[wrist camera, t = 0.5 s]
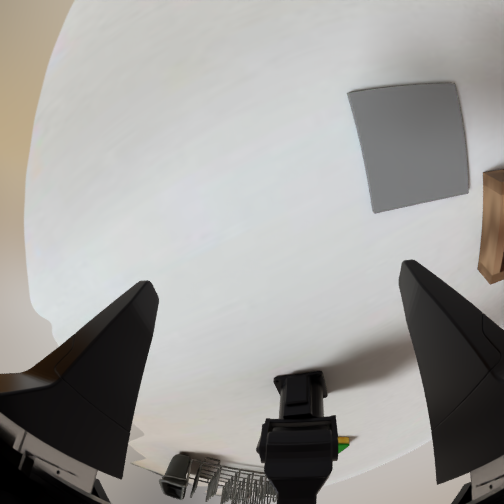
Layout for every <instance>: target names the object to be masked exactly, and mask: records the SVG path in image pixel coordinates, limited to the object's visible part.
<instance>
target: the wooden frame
mask: <svg viewBox="0 0 504 504" xmlns="http://www.w3.org/2000/svg"><path fill="white" fill-rule="evenodd" d="M503 251H504V169H502V170H496V171H490V172H484V173H483V221H482V235H481V246H480V255H479V262H478V270H479V272H480V273H481V274H482V275H483V276H484V278H485V279H486V280H487V281H488V283H489V284H490V285H491V284H493V283H496V282H498V281H501V280H503V279H504V252H503Z"/></svg>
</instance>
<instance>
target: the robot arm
mask: <svg viewBox="0 0 504 504" xmlns="http://www.w3.org/2000/svg"><path fill="white" fill-rule="evenodd" d="M399 288H400V292H401V297H402V302H403V306H404V311H405V317H406V321H407V325H408V329H409V333H410V336H411V339H412V343H413V347H414V350H415V354H416V358H417V362H418V366H419V370H420V374H421V378H422V383H423V387H424V392H425V397H426V402H427V407H428V413H429V419H430V425H431V430H432V440H433V447H434V457H435V467H436V481H437V485H438V484H441V483H444V482H446V481H449V480H452V479H454V478H457V477H459V476H462V475H464V474H466V473H469V472H470V475H471V482H469V483H467V484H465V485H464V486H463V487H462V489H461V491H460V492H459V493H458V495H457V496H456V498H455V499H454V501H453V502H452V503H451V504H504V330H503V329H502V328H500V327H499V326H498V325H497V324H496V323H494V322H493V321H492V320H491V319H490V318H488V317H487V316H486V315H485V314H482V312H481V311H480V310H479V309H478V308H477V307H475V306H474V305H473V304H472V303H470V302H469V301H468V300H467V299H466V298H464V297H463V296H462V295H461V294H459V293H458V292H457V291H455V290H454V289H453V288H452V287H450V286H449V285H448V284H446V283H445V282H444V281H442V280H441V279H440V278H438V277H437V276H436V275H434V274H433V273H432V272H430V271H429V270H428V269H426V268H425V267H424V266H422V265H421V264H419V263H418V262H417V261H415V260H405V261H403V262H402V265H401V271H400V276H399ZM158 304H159V298H158V295H157V293H156V291H155V289H154V287H153V285H152V283H151V282H150V281H148V280H147V281H139V282H138V283H136V284H135V285H134V286H133V287H131V288H130V289H129V290H128V291H126V292H125V293H124V294H123V295H121V296H120V297H119V298H118V299H116V300H115V301H114V302H113V303H111V304H110V305H109V306H108V307H106V308H105V309H104V310H103V311H101V312H100V313H99V314H98V315H97V316H95V317H94V318H93V319H92V320H91V321H89V322H88V323H87V324H86V325H85V326H83V327H82V328H81V329H80V330H79V331H77V332H76V334H74V335H73V336H71V337H70V338H69V339H68V340H67V341H65V342H64V343H63V344H62V345H61V346H59V347H58V348H57V349H56V350H54V351H53V352H52V353H50V354H49V355H48V356H46V357H45V358H44V359H43V360H41V361H40V362H39V363H37V364H36V365H35V366H34V367H32V368H31V369H29V370H27V371H25V372H21V373H9V374H0V504H111V503H110V501H109V499H108V497H107V495H106V493H105V491H104V489H103V487H102V485H101V483H100V481H99V480H98V479H96V475H97V471H98V470H99V471H101V472H104V473H106V474H108V475H111V476H113V477H116V478H119V479H122V477H123V471H124V465H125V458H126V453H127V447H128V442H129V436H130V430H131V425H132V421H133V416H134V411H135V406H136V402H137V397H138V393H139V389H140V384H141V380H142V376H143V372H144V368H145V364H146V360H147V356H148V353H149V349H150V345H151V341H152V337H153V332H154V327H155V321H156V315H157V310H158ZM274 384H275V386H276V388H277V390H278V392H279V394H280V410H279V419H270V418H266V421H265V423H264V424H262V432H261V437H260V440H259V442H258V445H257V448H256V451H257V453H258V454H260V458H261V463H265V467H264V472H265V474H266V476H267V478H268V479H269V481H270V483H271V485H272V486H273V488H274V490H275V491H276V493H277V504H316V495H317V493H318V492H319V491H320V489H321V488H322V486H323V485H324V483H325V482H326V481H327V479H328V478H329V475H330V473H331V471H332V461H337V459H338V433H337V423H336V415H333V416H329V417H324V410H323V398H326V397H327V396H328V395H327V390H326V385H325V381H324V376H323V373H322V372H321V371H317V372H311V373H304V374H297V375H290V376H282V377H275V378H274Z"/></svg>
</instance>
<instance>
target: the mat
mask: <svg viewBox="0 0 504 504" xmlns="http://www.w3.org/2000/svg"><path fill="white" fill-rule="evenodd" d="M347 95H348V98H349V102H350V105H351V109H352V112H353V116H354V120H355V124H356V128H357V132H358V136H359V141H360V145H361V149H362V154H363V159H364V164H365V169H366V174H367V180H368V185H369V191H370V197H371V204H372V210H373V212H374V214H375V213H380V212H384V211H389V210H393V209H398V208H402V207H407V206H412V205H416V204H421V203H425V202H430V201H435V200H439V199H444V198H449V197H453V196H458V195H463V194H468V193H469V190H468V167H467V155H466V145H465V136H464V129H463V122H462V116H461V110H460V105H459V100H458V95H457V90H456V86H455V83H436V84H417V85H405V86H394V87H385V88H377V89H370V90H363V91H357V92H351V93H347Z"/></svg>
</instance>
